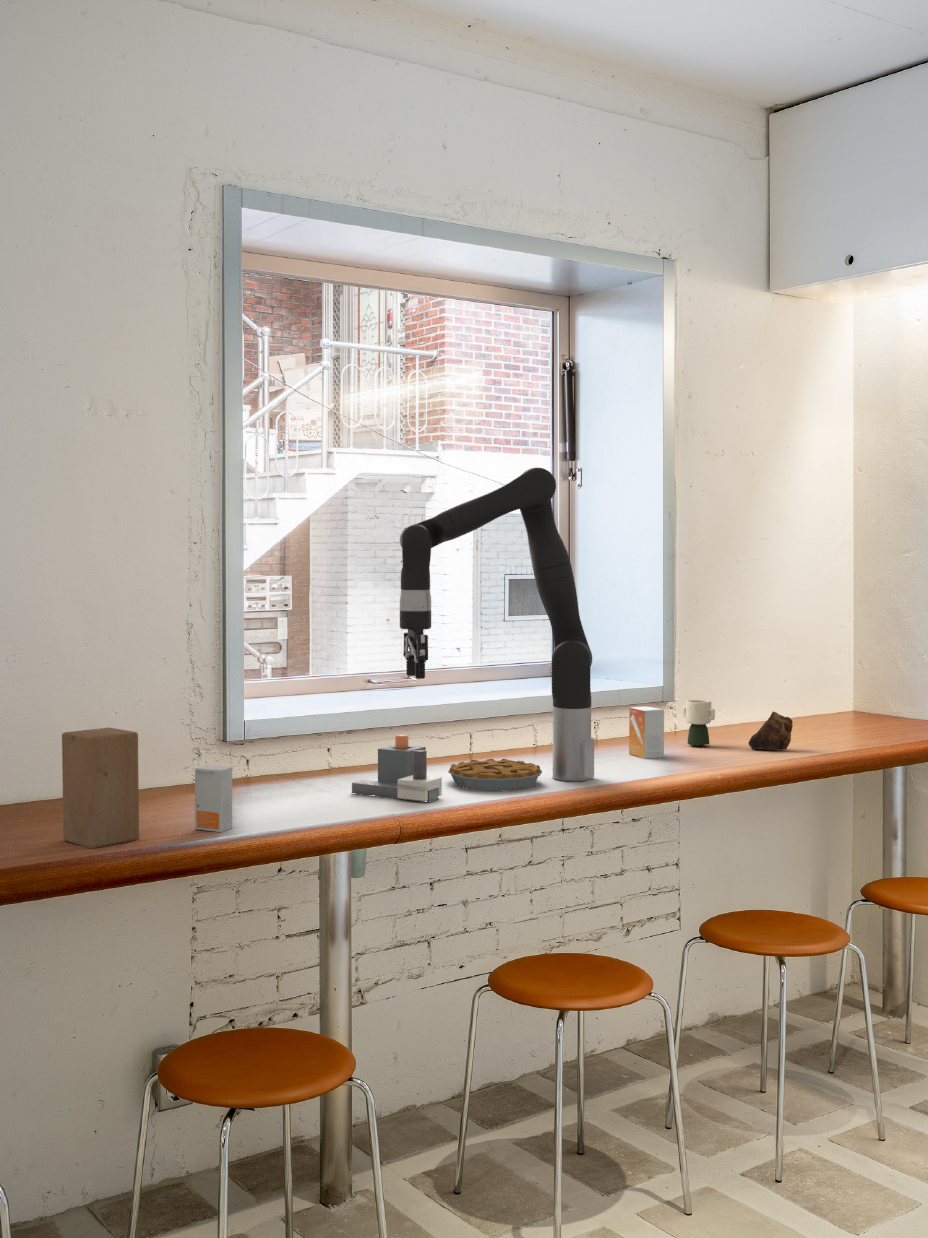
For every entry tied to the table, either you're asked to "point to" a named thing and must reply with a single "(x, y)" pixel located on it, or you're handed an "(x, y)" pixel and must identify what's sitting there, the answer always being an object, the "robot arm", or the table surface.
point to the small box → (646, 732)
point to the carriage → (419, 780)
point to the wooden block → (100, 787)
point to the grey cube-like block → (395, 763)
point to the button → (401, 742)
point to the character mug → (698, 720)
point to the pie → (495, 775)
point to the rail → (384, 789)
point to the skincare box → (213, 798)
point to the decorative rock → (773, 733)
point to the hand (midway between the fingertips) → (415, 677)
